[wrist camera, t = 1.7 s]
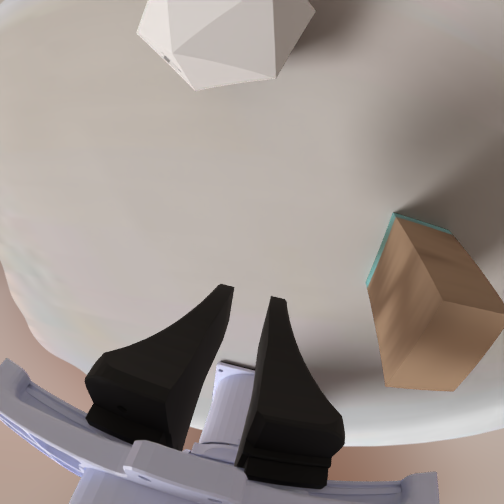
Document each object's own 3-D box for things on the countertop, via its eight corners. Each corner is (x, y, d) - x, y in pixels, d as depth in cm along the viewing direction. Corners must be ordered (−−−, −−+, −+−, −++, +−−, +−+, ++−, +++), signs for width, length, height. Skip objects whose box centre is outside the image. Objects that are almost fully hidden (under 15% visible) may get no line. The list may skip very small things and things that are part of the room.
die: (180, -12, 14) (80, 48, 11) (269, -81, 8) (166, -73, 5) (250, 62, 19) (181, 143, 16) (350, 16, 13) (313, 85, 9)
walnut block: (418, 294, 22) (453, 391, 13) (365, 282, 22) (385, 386, 14) (448, 230, 19) (511, 315, 10) (392, 212, 19) (442, 300, 11)
